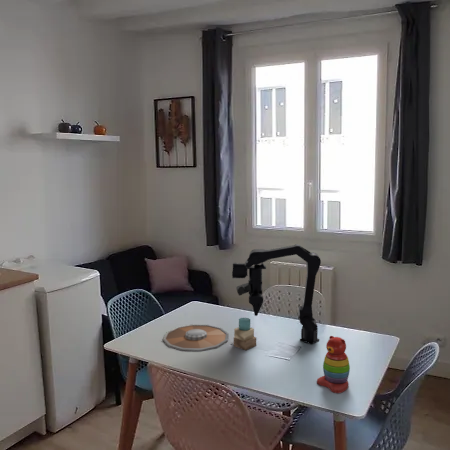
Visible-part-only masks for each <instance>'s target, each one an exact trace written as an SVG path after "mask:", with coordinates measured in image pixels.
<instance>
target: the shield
mask: <svg viewBox="0 0 450 450" xmlns="http://www.w3.org/2000/svg"><path fill="white" fill-rule="evenodd" d="M228 340H229V333H228V332H227V331H226V330H224V329H223V328H221V327H218V326H214V325H210V324H185V325H180V326H177V327H173V329H172V328H171V329H170V330H168V331H166V332H165V334H164V336H163V338H162V341H163V342H164V344H166V346H168V348H172V349H176V350H179V351H182V352H204V351H209V350H213V349H218V348H220V347H222V346H223V345H225V344H226V343H228Z"/></svg>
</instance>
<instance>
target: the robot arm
mask: <svg viewBox="0 0 450 450" xmlns="http://www.w3.org/2000/svg"><path fill="white" fill-rule="evenodd" d="M295 255H296V256H298V257H299V258H300V259H302V260H303V261H305V266H306V267H305V268H306V276H305V285H304V286H305V287H304V294H303V300H302V304H301V305H297V306H298V307H297V308H298V311H297V312H296V313H297V314H296V315H297V319H298V320H299V323H300V325H302V326H301V331H300V332H301V333H300V338H299V341H300V342H304V343H307V344H310V345H313V344H315V343H317V342H319V341H320V338H319V337H318V332H319V331H318V330H319V328H318V327H319V326H318V324H317V321H316V319H315V318H314V316H313V315H314V314H313V299H314V291H315V284H316V278H317V274H318V273H319V269H320V266H321V263H322V261H321V257H320V256H319V255H318V253H316V252H311V251H310V250H308V249H306V248H304V247H303V246H301V245H300V244H298V243H296V244H295V243H294V244H293V245H288V246H287V245H286V246H281V247H276V248H271V249H270V248H269V249H263V248H260V249H259V248H258V249H257V248H256V249H252V250H251V251H250V252H249V253H248V258H247V259H246V260H245V262H244V263H243V262H241V263H240V262H239V263H237V262H233V263H232V270H231V271H232V273H231V274H232V275H231V276H232V279H246V278H247V277H248V281H247V282H246V283H242V284H240V285H238V286H236V291H237V294H238V296H242V295H244V294H246V293H247V294H248V303H249V304H250V305H251V306H252V309H253V314H254V317H257V316H258V315H259V312H260V310H261V308H262V306H263V303H264V295H263V270H267V266H266V265H265V264H264V263H265V262H267V261H269V260H270V261H271V260H272V259H273V260H274V259H279V258H285V257H290V256H295Z"/></svg>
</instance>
